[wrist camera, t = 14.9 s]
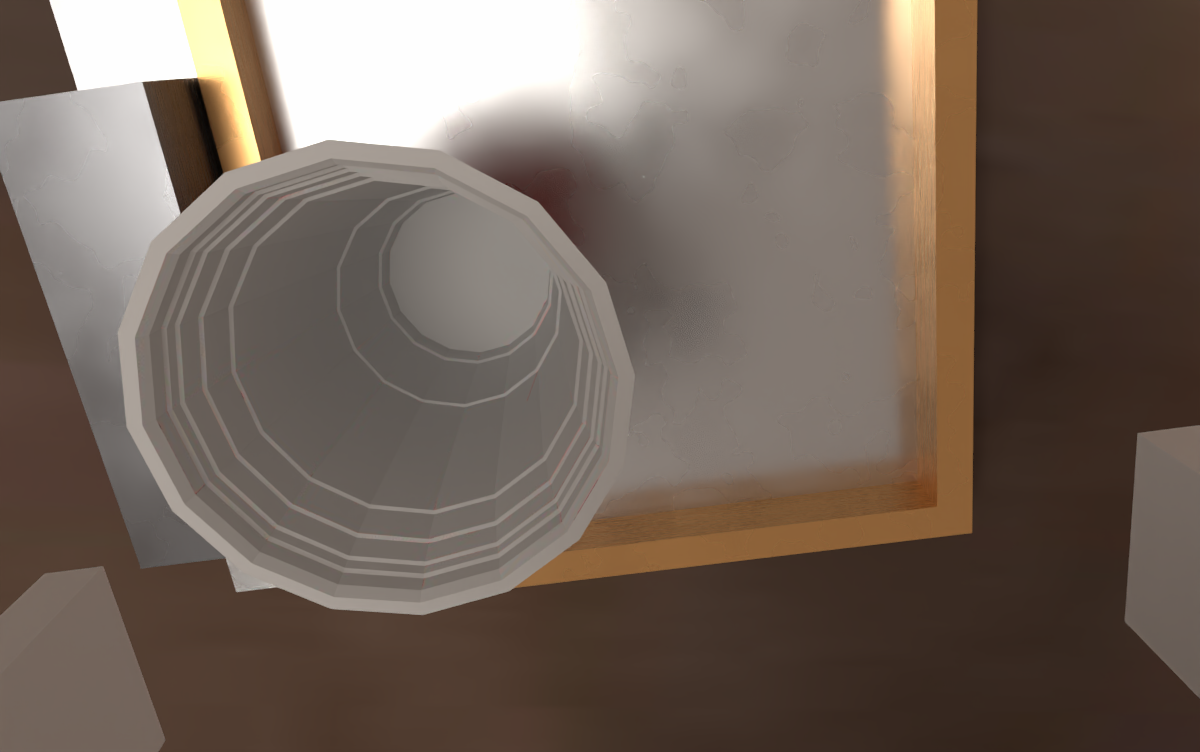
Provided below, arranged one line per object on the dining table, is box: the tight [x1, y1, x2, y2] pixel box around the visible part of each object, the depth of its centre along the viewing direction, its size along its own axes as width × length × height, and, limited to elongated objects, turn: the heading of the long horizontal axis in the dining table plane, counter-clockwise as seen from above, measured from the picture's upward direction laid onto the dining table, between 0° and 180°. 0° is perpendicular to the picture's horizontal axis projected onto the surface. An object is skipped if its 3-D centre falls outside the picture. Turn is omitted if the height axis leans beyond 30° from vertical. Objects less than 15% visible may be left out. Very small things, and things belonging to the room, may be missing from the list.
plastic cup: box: [118, 139, 635, 615], centre depth 24 cm, size 11×11×12 cm
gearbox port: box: [0, 0, 977, 592], centre depth 28 cm, size 22×27×6 cm
